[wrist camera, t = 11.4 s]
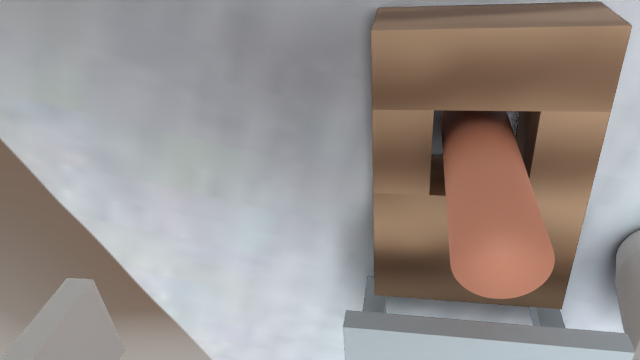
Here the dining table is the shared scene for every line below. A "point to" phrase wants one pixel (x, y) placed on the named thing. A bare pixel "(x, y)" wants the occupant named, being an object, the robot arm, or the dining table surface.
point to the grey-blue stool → (472, 337)
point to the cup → (629, 285)
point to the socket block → (487, 95)
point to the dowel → (491, 208)
